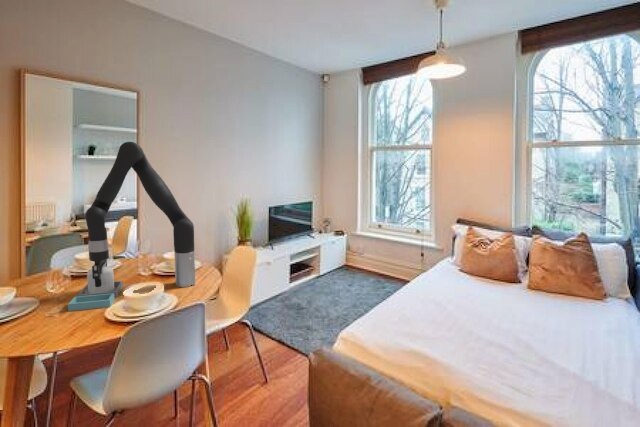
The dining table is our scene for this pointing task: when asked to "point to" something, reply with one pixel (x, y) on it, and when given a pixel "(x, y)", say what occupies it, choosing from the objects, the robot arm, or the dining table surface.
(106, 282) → the grey rounded block
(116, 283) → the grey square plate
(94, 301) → the tray
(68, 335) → the dining table surface
